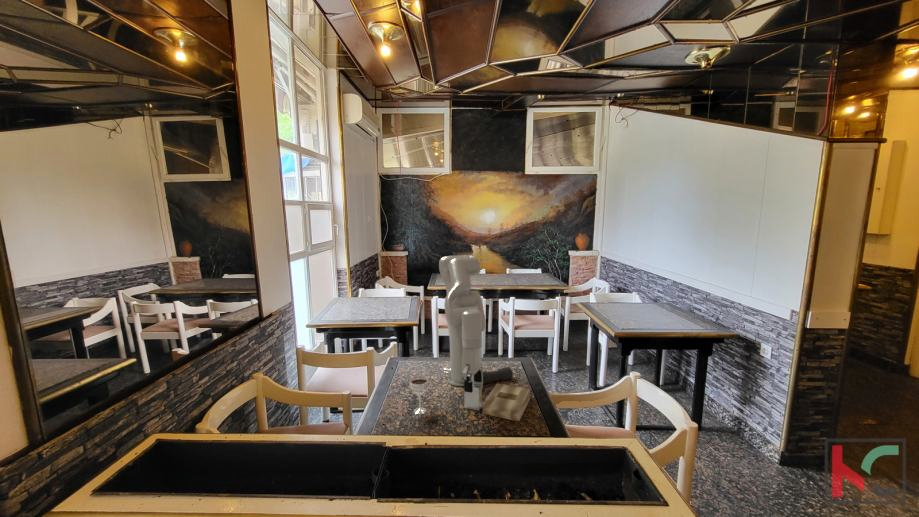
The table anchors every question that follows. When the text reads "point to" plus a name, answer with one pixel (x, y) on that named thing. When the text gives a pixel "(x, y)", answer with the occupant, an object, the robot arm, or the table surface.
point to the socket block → (506, 402)
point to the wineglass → (419, 391)
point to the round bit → (478, 382)
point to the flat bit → (473, 398)
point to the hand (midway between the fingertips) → (473, 386)
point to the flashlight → (498, 375)
